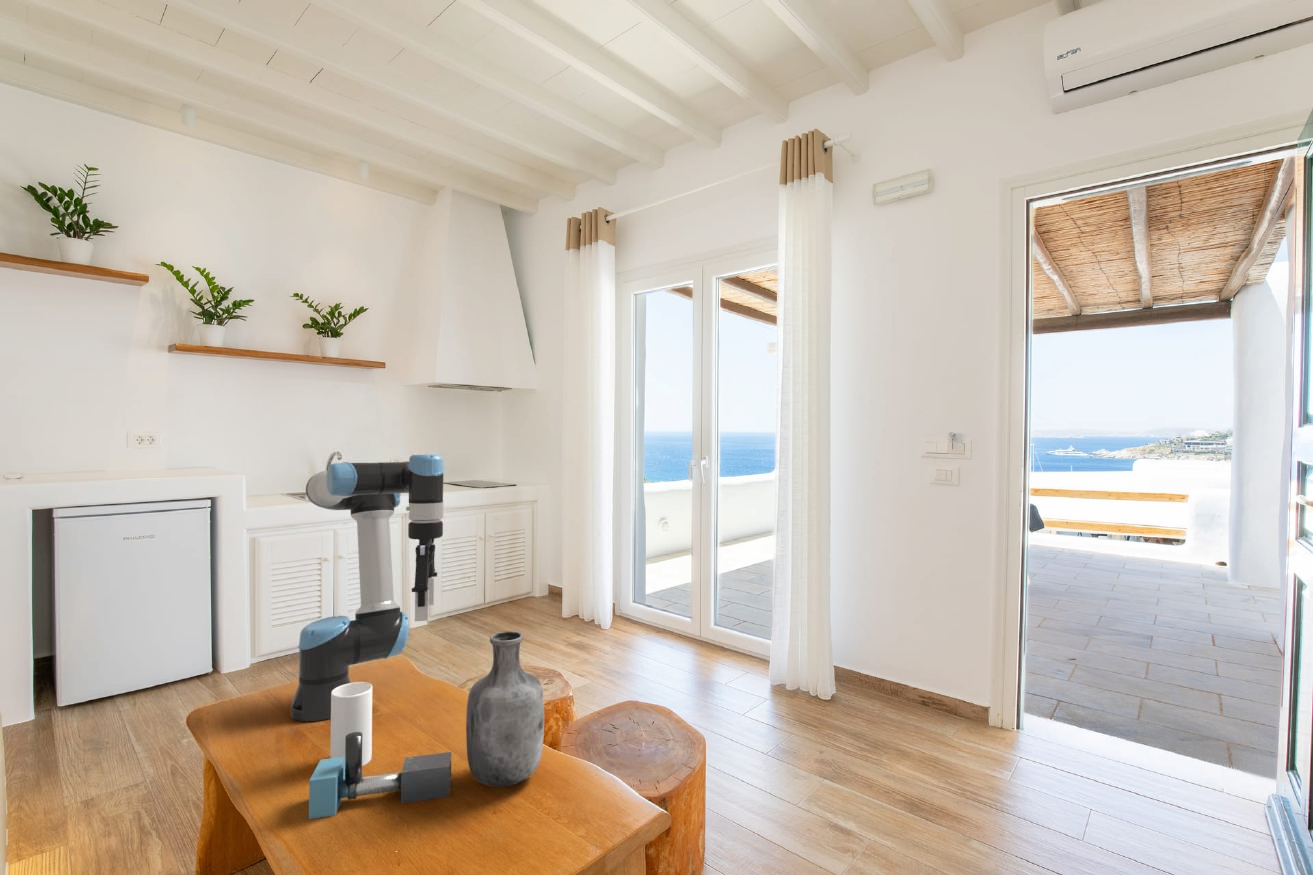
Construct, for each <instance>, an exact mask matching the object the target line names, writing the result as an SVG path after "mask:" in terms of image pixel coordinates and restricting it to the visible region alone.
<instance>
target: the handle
mask: <svg viewBox="0 0 1313 875" xmlns="http://www.w3.org/2000/svg"><path fill="white" fill-rule="evenodd" d="M401 772H402V771H401ZM401 772H394V773H385V774H378V775H371V776H364V777H363V766H362V733H361V732H353V733H350V734H348V735H346V738H345V780H338V789H337V799H341V798H342V799H348V800H355V799H357V797H361V796H367V795H369V796H370V795H375V794H385V793H391V792H399V791H401Z"/></svg>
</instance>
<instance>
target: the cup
mask: <svg viewBox="0 0 1313 875" xmlns="http://www.w3.org/2000/svg"><path fill="white" fill-rule="evenodd" d="M353 732H361V733H362V767H364V766H365V765H367V764H368V763H370V761H372V758H373V756H372V754H373V753H372V752H373V749H372V748H373V747H372V746H373V744H372V743H373V740H372V739H373V685H372V684H371V683H369V682H366V681H365V682H364V681H355V682H351V683H348V684H344V685H341V686H339V687H336V688H335V689H333V690H332V692H331V718H330V754H329V756H330V758H329V759H332V758H340V757H345V738H346V735H348V734H350V733H353Z"/></svg>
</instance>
